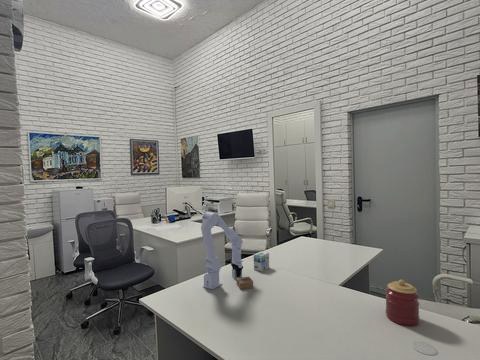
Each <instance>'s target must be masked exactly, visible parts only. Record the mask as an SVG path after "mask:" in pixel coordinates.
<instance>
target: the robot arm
mask: <svg viewBox="0 0 480 360" xmlns="http://www.w3.org/2000/svg"><path fill="white" fill-rule="evenodd" d="M201 219H202V220H201V227H200V230H201V235H202V240H203V244H204V248H205V255H206V256H205V257H204V260H205V261H204V266H205V268H206V273H205V274H204V275H203V285H202V288H205V289H209V290H215V289H216V288H218V287H220V286H222V285H223V283H222V282H220V271H221V269H222V265H223V264H222V263H221V261H220V258H219V257H218V256H217V254H216V249H215V244H214V239H213V235H212V229H213V228H214V227H215V226H216V225H217V226H218V227H220V228H221V229H222V230H223V231H224V235H225V236H226V237H227V239H228V240H229V243H230V244H231V257H232V258H231V262H230V265H231V268H232V269H235V271H236V276H237V277H240V275H241V271H242V272H243V268H244V266H243V264H242V263H243V262H244V260H243V259H242V244H243V243H244V241H243V239H242V237H241V236H239V234H238V233H236V232H235V229H234V228H232V227H228V225H227V224H226V222H225V221H224V219H222V217H221V216H220V214H219V213H218V212H210V211H205V212H204V213H203V215H202V216H201Z"/></svg>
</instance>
